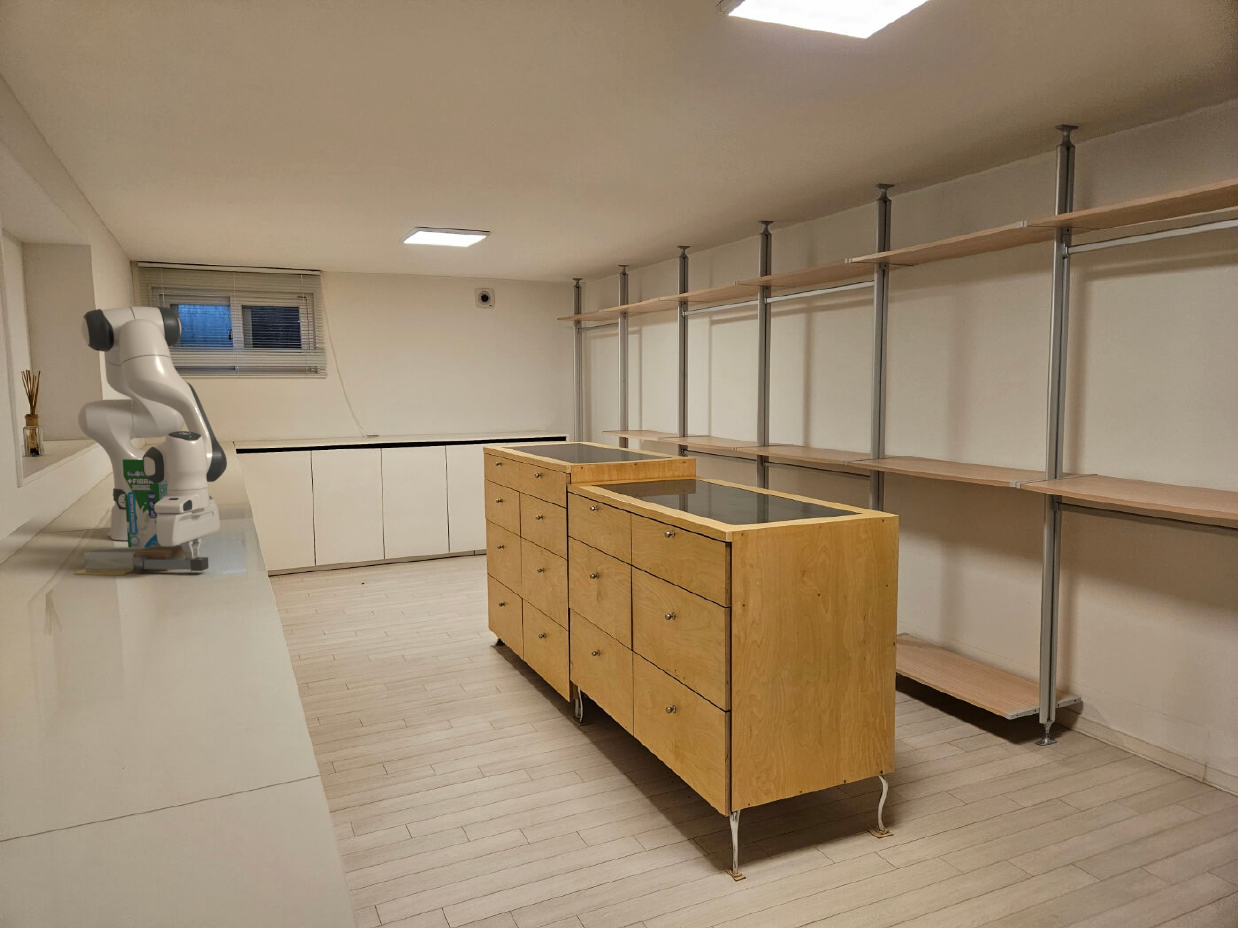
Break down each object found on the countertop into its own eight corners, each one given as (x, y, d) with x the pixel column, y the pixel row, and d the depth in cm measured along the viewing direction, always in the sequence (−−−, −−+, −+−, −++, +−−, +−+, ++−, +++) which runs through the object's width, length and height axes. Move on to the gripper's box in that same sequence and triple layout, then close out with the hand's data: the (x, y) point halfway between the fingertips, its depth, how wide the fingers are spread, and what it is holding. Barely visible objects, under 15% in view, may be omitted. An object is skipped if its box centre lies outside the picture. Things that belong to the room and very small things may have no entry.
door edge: (108, 562, 203) (107, 544, 202) (186, 563, 202) (185, 545, 201) (85, 569, 195) (84, 551, 194) (166, 571, 194) (165, 552, 193)
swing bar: (130, 570, 190) (129, 558, 190) (138, 567, 193) (137, 555, 193) (201, 571, 189) (200, 559, 189) (208, 568, 192) (208, 556, 192)
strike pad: (86, 570, 195) (86, 568, 195) (135, 570, 194) (135, 569, 194) (74, 574, 191) (74, 572, 191) (124, 575, 190) (124, 573, 190)
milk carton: (184, 550, 216) (178, 455, 214) (162, 558, 207) (156, 459, 205) (152, 549, 217) (146, 455, 215) (128, 557, 208) (121, 458, 206)
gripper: (200, 494, 206) (204, 548, 207) (149, 506, 186) (153, 567, 187) (225, 494, 206) (228, 548, 207) (176, 506, 185) (179, 567, 187)
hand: (192, 557), depth 197 cm, fingers closed
